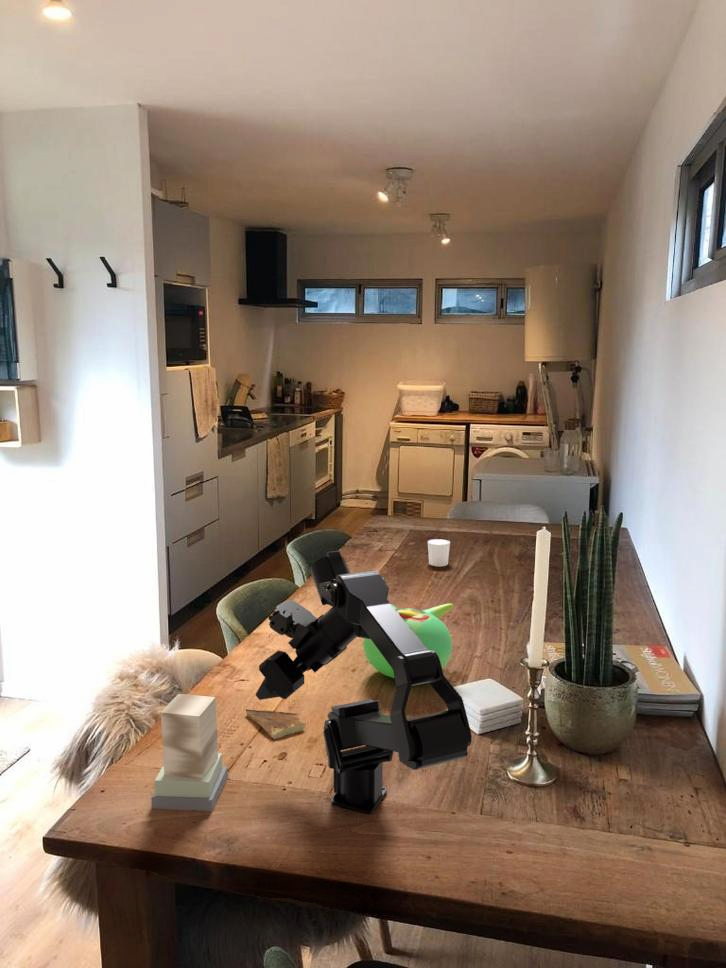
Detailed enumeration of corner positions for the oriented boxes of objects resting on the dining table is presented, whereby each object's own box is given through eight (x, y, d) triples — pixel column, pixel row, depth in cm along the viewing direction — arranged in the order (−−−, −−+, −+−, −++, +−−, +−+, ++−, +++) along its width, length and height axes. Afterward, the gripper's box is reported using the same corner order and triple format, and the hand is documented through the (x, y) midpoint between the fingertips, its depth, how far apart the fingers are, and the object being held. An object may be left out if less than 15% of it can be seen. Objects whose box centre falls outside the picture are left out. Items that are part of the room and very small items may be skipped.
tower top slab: (222, 767, 119) (221, 753, 119) (209, 797, 112) (209, 782, 111) (171, 766, 120) (171, 751, 119) (155, 796, 112) (154, 780, 112)
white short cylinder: (450, 567, 230) (451, 544, 229) (427, 567, 230) (428, 544, 229) (448, 560, 237) (449, 538, 236) (426, 560, 237) (426, 538, 236)
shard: (245, 717, 140) (245, 707, 140) (282, 706, 144) (282, 697, 144) (271, 742, 131) (271, 733, 131) (310, 730, 135) (310, 721, 135)
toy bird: (352, 685, 152) (351, 614, 149) (379, 652, 168) (379, 588, 165) (440, 699, 146) (441, 626, 143) (460, 664, 162) (462, 598, 159)
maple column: (218, 757, 118) (215, 697, 116) (202, 779, 112) (199, 716, 110) (181, 753, 119) (178, 693, 117) (164, 774, 113) (160, 712, 111)
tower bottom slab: (228, 780, 120) (227, 766, 120) (212, 815, 112) (211, 800, 111) (172, 778, 121) (171, 763, 121) (152, 812, 112) (151, 796, 112)
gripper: (329, 571, 125) (272, 625, 131) (269, 607, 108) (207, 667, 114) (373, 625, 123) (313, 676, 129) (319, 670, 106) (253, 727, 113)
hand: (273, 684), depth 122 cm, fingers open, 9 cm apart
